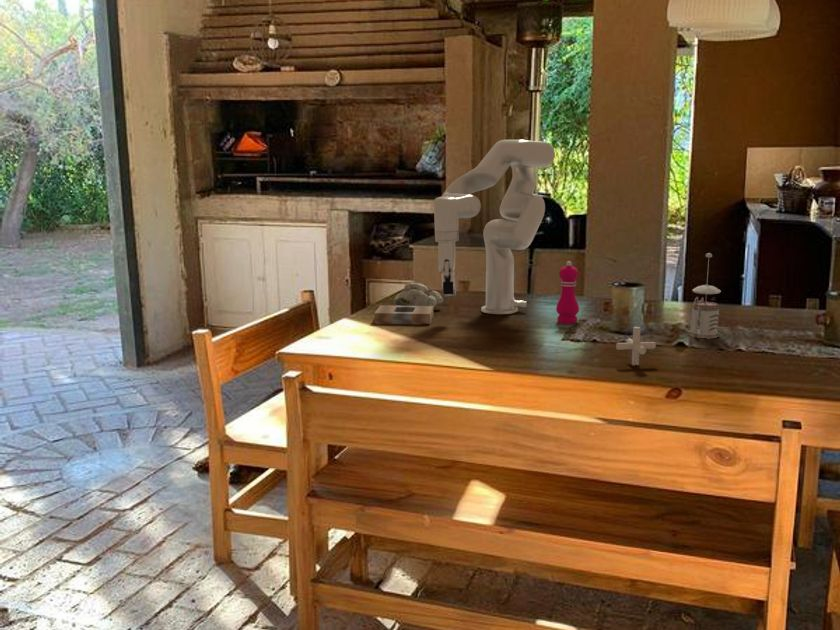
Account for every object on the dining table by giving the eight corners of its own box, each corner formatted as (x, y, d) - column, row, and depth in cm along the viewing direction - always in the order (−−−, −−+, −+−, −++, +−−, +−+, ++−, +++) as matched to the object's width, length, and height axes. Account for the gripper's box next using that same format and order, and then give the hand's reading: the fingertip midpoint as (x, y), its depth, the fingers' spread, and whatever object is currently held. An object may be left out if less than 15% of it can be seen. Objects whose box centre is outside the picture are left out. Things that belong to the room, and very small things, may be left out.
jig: (433, 316, 279) (433, 306, 278) (430, 324, 266) (430, 313, 266) (380, 315, 281) (380, 305, 280) (374, 323, 268) (374, 313, 267)
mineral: (438, 307, 282) (442, 279, 285) (389, 302, 286) (394, 275, 288) (443, 317, 294) (447, 291, 296) (396, 313, 297) (401, 287, 300)
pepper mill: (553, 323, 267) (555, 262, 263) (558, 319, 273) (560, 259, 269) (575, 325, 264) (578, 263, 260) (580, 320, 271) (582, 260, 267)
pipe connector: (610, 360, 222) (612, 323, 220) (646, 359, 223) (648, 322, 221) (622, 370, 212) (624, 332, 210) (660, 369, 213) (662, 331, 211)
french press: (726, 335, 250) (732, 252, 245) (709, 341, 242) (715, 256, 237) (695, 330, 257) (700, 249, 252) (678, 336, 248) (683, 253, 243)
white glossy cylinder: (456, 293, 270) (455, 272, 268) (455, 296, 265) (454, 274, 264) (442, 293, 270) (441, 272, 268) (441, 296, 266) (440, 275, 264)
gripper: (437, 232, 272) (439, 286, 276) (432, 240, 255) (435, 298, 260) (460, 231, 271) (461, 286, 275) (457, 239, 255) (459, 297, 259)
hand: (448, 291), depth 267 cm, fingers closed on white glossy cylinder, 4 cm apart
